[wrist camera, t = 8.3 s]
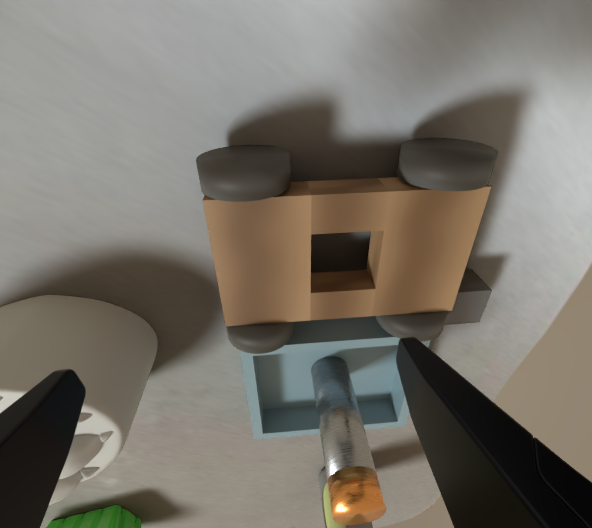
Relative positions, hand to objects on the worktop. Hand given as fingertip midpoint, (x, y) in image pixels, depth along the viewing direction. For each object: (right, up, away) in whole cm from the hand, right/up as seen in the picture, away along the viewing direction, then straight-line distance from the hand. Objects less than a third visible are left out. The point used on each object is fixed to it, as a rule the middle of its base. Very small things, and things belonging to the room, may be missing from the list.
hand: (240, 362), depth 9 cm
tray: (+4, -5, +18) cm, 19 cm away
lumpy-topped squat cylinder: (-15, -4, +16) cm, 22 cm away
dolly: (+5, +4, +12) cm, 14 cm away
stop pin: (+4, -6, +18) cm, 19 cm away
